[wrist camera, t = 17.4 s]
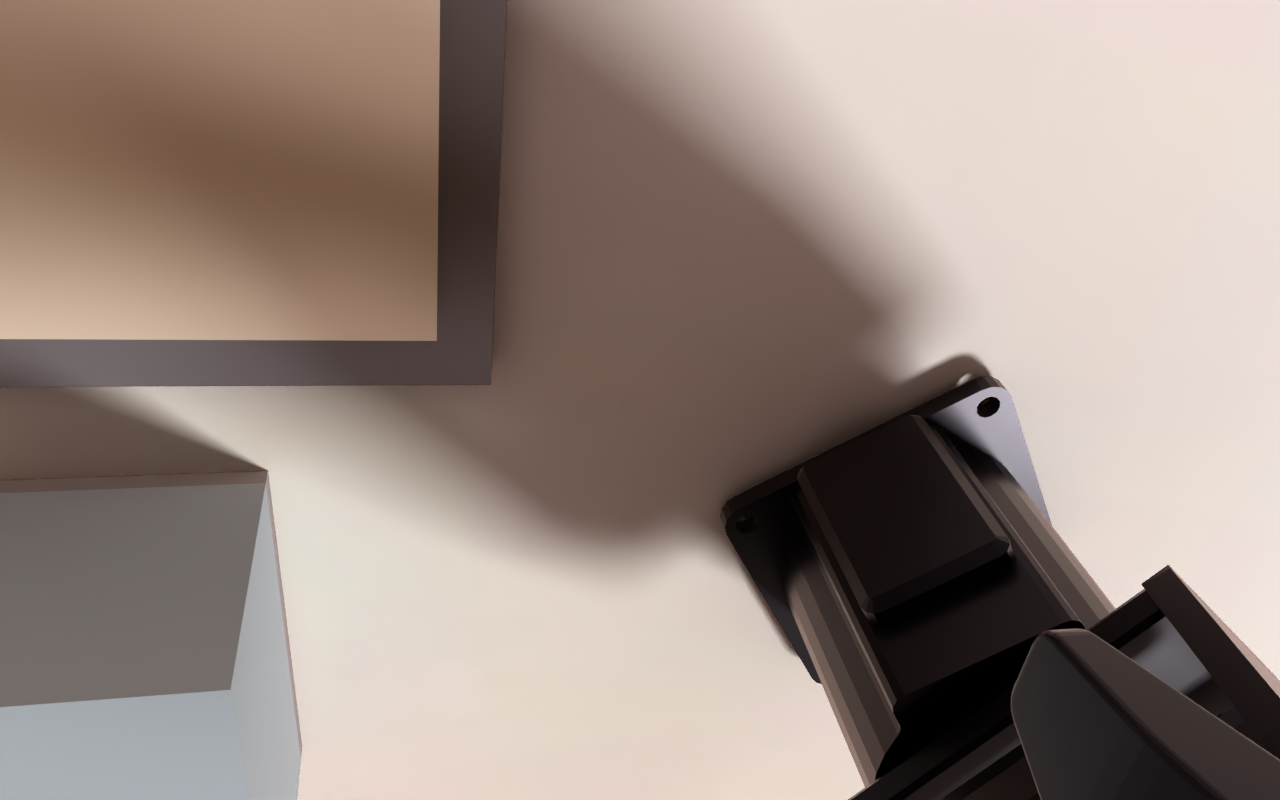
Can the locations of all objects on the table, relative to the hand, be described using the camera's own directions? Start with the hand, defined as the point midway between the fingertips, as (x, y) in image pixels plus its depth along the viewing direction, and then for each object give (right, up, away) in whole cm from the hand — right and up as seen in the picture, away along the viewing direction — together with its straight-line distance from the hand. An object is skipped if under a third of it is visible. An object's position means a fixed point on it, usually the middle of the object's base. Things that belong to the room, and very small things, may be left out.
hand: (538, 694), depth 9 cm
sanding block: (-9, -2, +13) cm, 16 cm away
